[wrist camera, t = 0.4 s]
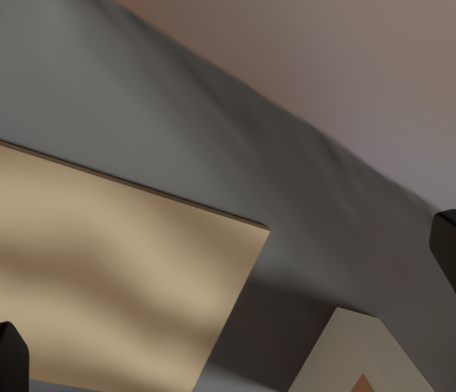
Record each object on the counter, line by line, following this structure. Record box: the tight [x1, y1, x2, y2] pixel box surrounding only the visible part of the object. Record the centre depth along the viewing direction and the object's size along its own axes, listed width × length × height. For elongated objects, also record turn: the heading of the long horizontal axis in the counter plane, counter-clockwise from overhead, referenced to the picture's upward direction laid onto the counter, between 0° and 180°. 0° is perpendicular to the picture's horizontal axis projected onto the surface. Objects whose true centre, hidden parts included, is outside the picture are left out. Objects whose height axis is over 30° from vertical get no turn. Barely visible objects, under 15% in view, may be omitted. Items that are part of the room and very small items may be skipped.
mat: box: [0, 141, 270, 392], centre depth 26 cm, size 14×16×1 cm
